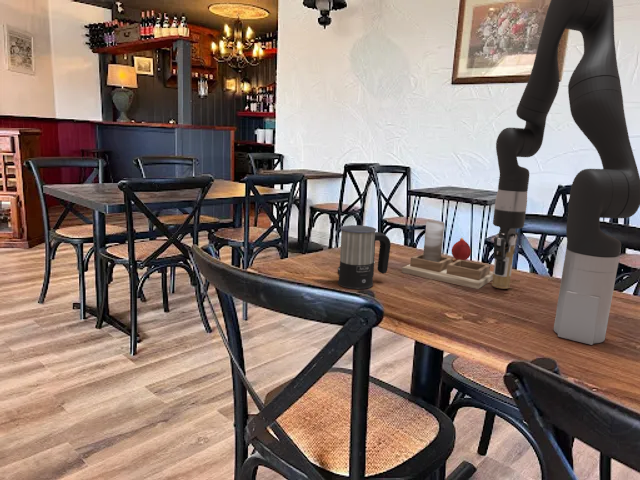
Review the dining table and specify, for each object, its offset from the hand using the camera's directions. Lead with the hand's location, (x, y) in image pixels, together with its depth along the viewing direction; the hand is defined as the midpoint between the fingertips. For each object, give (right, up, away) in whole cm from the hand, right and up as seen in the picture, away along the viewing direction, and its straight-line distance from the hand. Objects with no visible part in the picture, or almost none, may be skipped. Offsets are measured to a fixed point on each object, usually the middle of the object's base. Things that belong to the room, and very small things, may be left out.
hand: (502, 272), depth 128 cm
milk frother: (-39, -2, +2) cm, 39 cm away
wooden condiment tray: (-11, -1, +11) cm, 16 cm away
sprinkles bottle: (0, -4, +1) cm, 4 cm away
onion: (-3, +1, +26) cm, 27 cm away
